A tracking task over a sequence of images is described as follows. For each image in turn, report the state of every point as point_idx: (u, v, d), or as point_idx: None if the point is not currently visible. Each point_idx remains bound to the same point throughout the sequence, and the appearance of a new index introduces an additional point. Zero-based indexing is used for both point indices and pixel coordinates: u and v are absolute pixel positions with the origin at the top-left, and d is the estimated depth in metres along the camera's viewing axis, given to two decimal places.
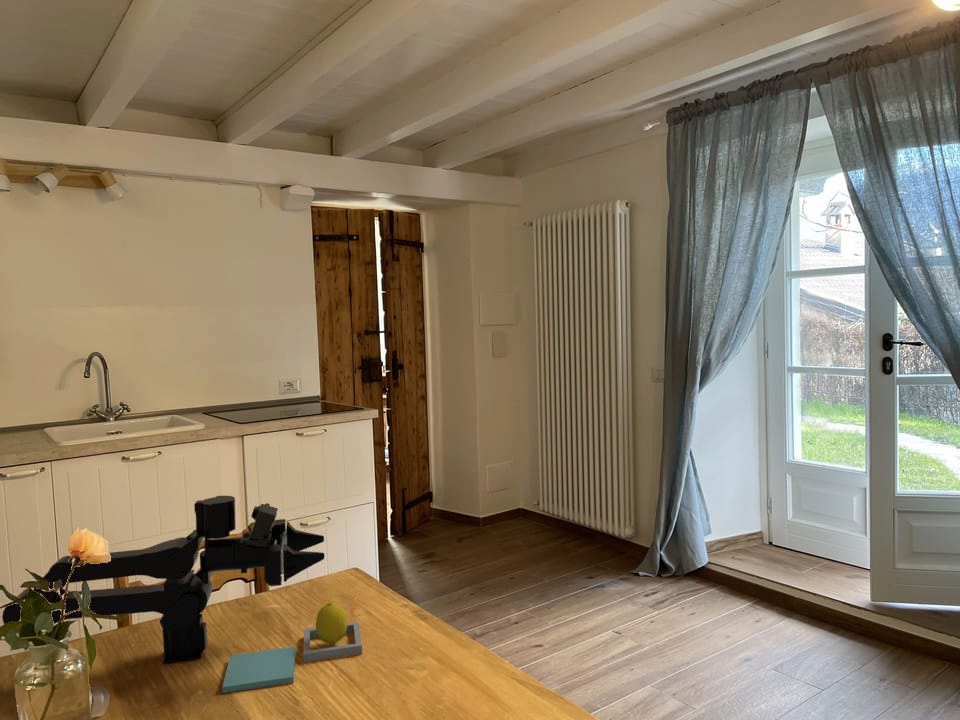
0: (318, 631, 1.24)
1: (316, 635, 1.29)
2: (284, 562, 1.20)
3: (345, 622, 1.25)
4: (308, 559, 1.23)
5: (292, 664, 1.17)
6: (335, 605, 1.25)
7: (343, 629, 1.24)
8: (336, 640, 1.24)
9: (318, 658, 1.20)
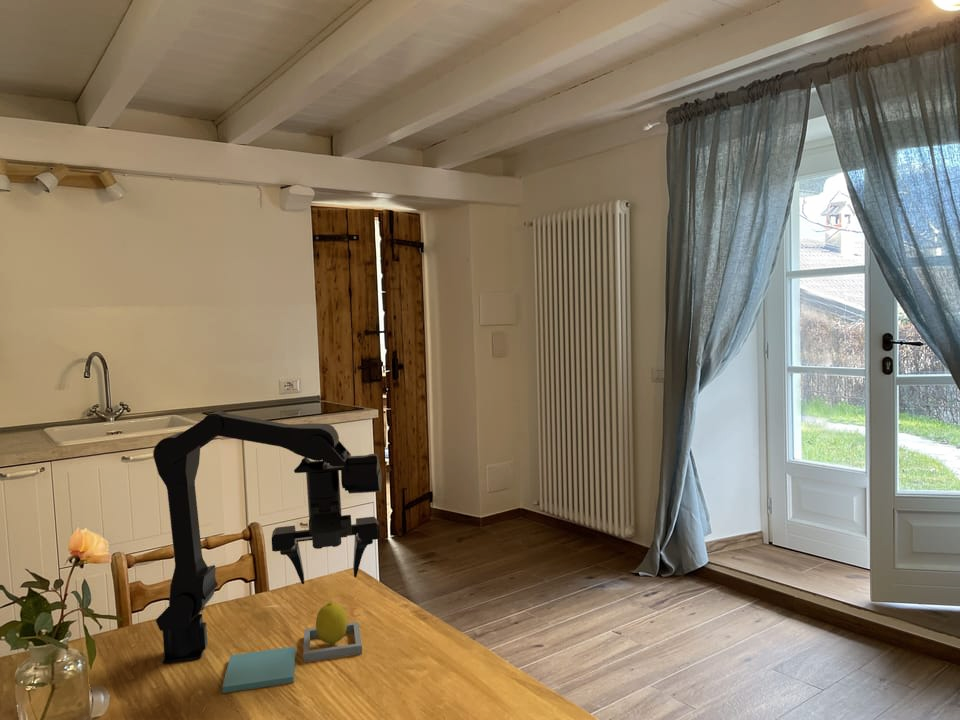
0: (318, 631, 1.24)
1: (316, 635, 1.29)
2: None
3: (345, 622, 1.25)
4: None
5: (292, 664, 1.17)
6: (335, 605, 1.25)
7: (343, 629, 1.24)
8: (336, 640, 1.24)
9: (318, 658, 1.20)
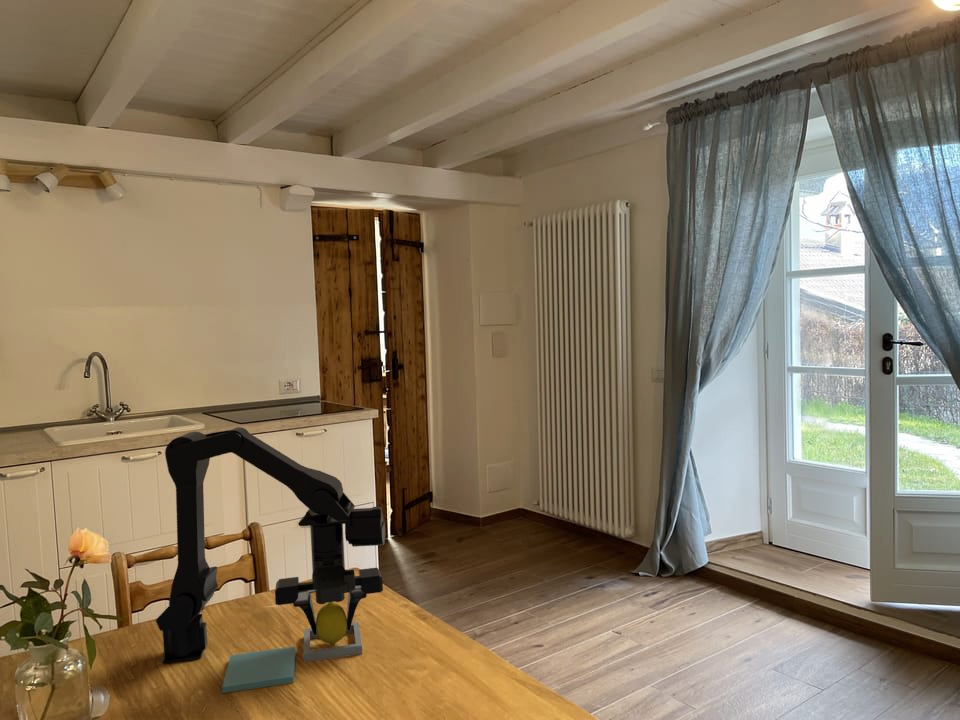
0: (318, 631, 1.24)
1: (316, 635, 1.29)
2: None
3: (345, 622, 1.25)
4: None
5: (292, 664, 1.17)
6: (335, 605, 1.25)
7: (343, 629, 1.24)
8: (336, 640, 1.24)
9: (318, 658, 1.20)
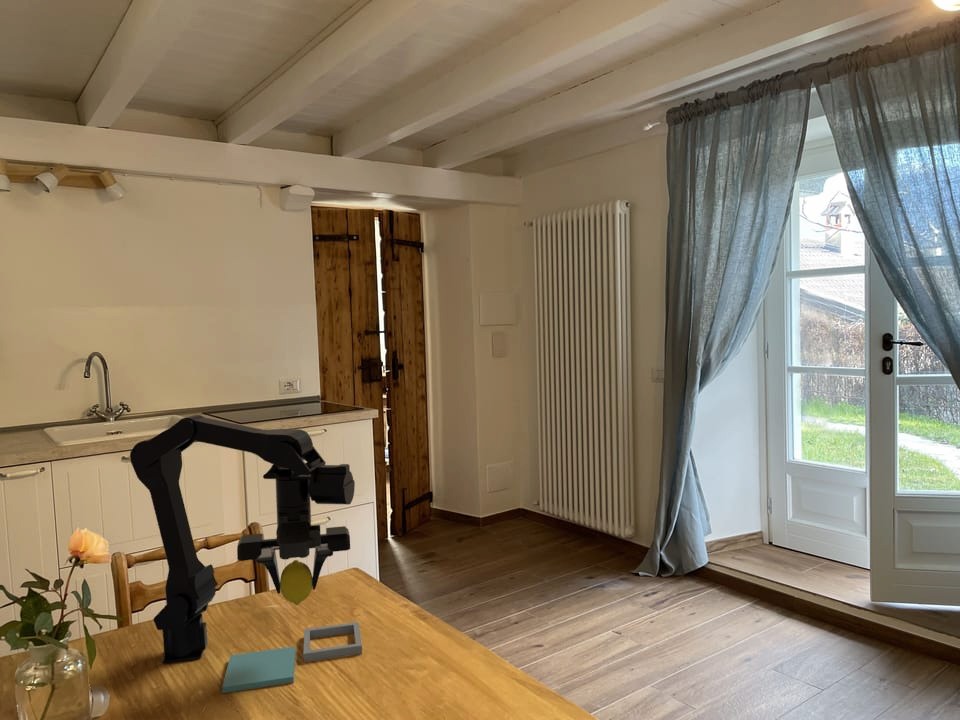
0: (282, 589, 1.19)
1: (316, 635, 1.29)
2: None
3: (310, 581, 1.21)
4: None
5: (292, 664, 1.17)
6: (300, 563, 1.21)
7: (309, 587, 1.20)
8: (301, 599, 1.19)
9: (318, 658, 1.20)
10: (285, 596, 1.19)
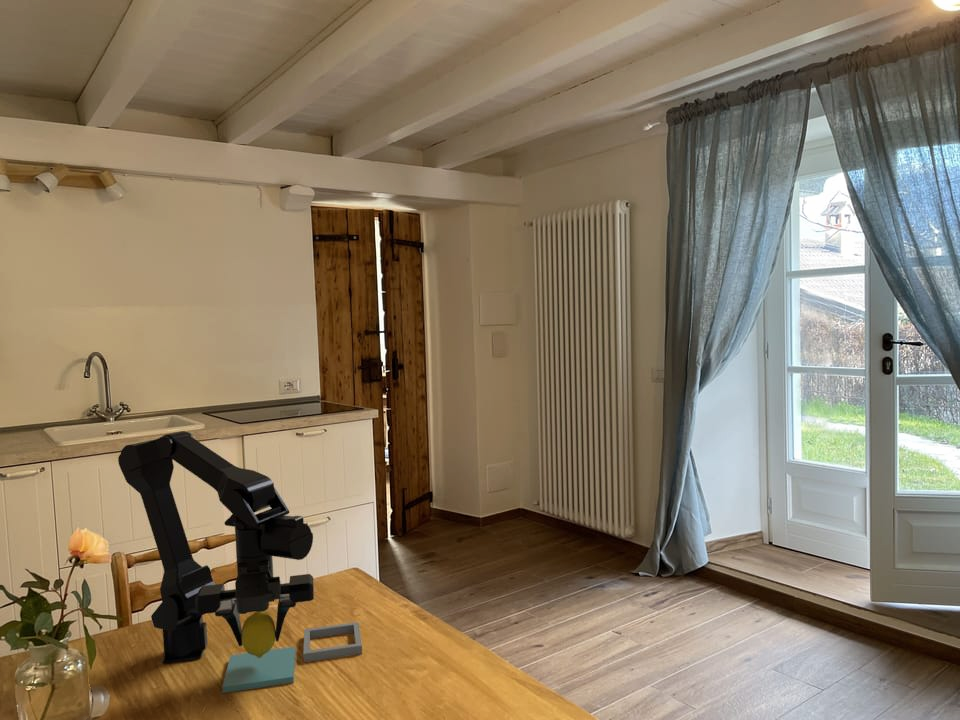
0: (243, 642, 1.15)
1: (316, 635, 1.29)
2: None
3: (273, 633, 1.16)
4: None
5: (292, 664, 1.17)
6: (262, 614, 1.16)
7: (271, 640, 1.15)
8: (262, 652, 1.15)
9: (318, 658, 1.20)
10: (246, 649, 1.15)
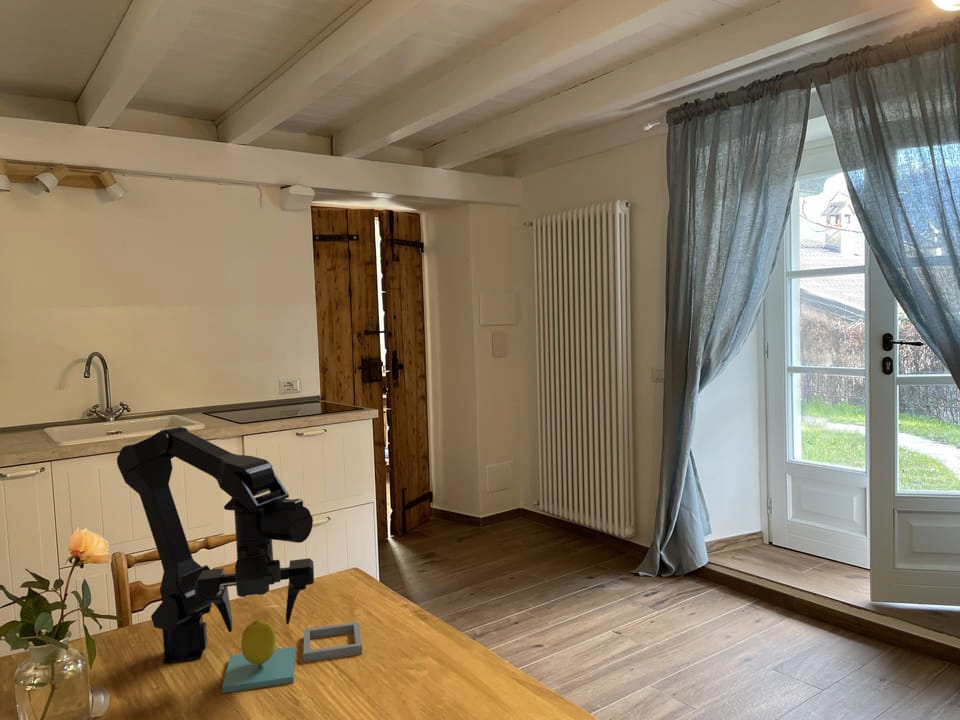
0: (243, 651, 1.15)
1: (316, 635, 1.29)
2: None
3: (273, 641, 1.16)
4: None
5: (292, 664, 1.17)
6: (262, 623, 1.16)
7: (271, 648, 1.15)
8: (263, 661, 1.15)
9: (318, 658, 1.20)
10: (246, 658, 1.15)
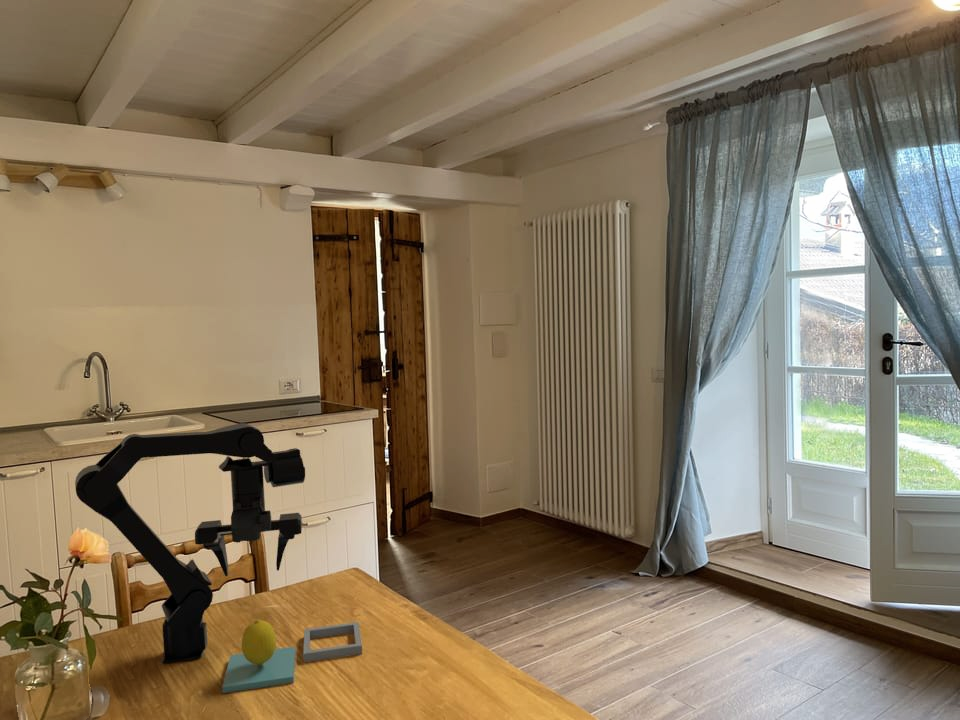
0: (244, 651, 1.15)
1: (316, 635, 1.29)
2: None
3: (273, 641, 1.16)
4: None
5: (292, 664, 1.17)
6: (263, 623, 1.16)
7: (271, 648, 1.15)
8: (263, 660, 1.15)
9: (318, 658, 1.20)
10: (247, 658, 1.15)
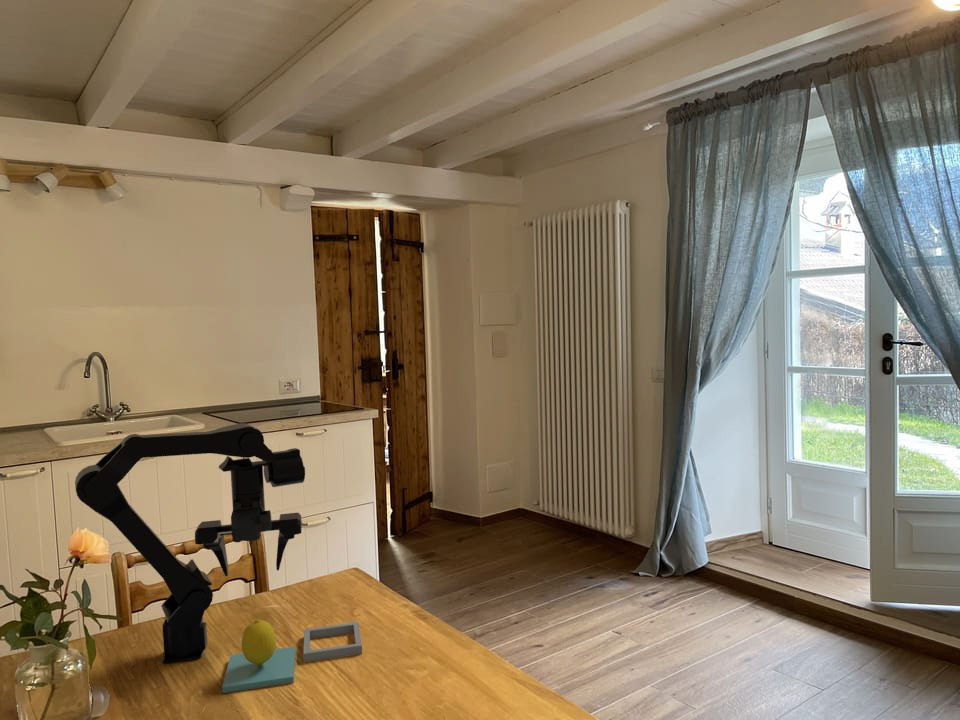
0: (243, 651, 1.15)
1: (316, 635, 1.29)
2: None
3: (273, 641, 1.16)
4: None
5: (292, 664, 1.17)
6: (263, 622, 1.16)
7: (271, 648, 1.16)
8: (263, 660, 1.15)
9: (318, 658, 1.20)
10: (247, 658, 1.15)
